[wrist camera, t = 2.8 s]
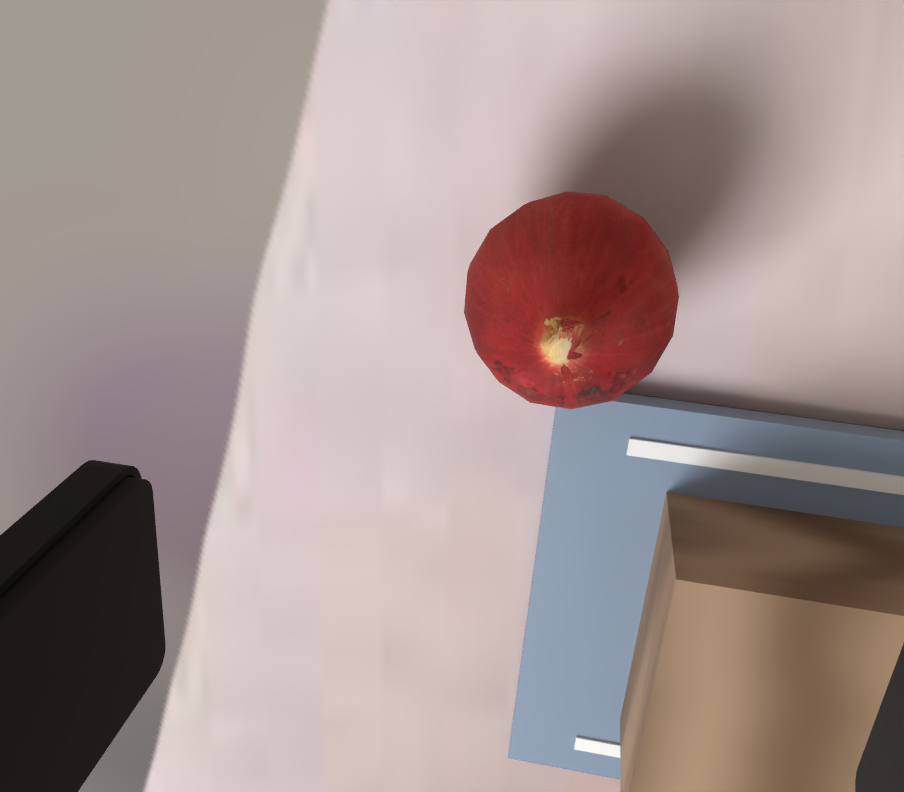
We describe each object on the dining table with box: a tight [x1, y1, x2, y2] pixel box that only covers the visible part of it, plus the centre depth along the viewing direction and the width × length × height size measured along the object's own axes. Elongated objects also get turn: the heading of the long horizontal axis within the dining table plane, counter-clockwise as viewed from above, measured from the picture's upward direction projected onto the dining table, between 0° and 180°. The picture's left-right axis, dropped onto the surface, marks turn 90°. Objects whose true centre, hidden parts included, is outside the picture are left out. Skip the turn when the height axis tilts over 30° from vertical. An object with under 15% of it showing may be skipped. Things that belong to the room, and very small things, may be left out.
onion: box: [464, 192, 679, 409], centre depth 24 cm, size 6×6×8 cm
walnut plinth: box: [620, 492, 904, 792], centre depth 28 cm, size 10×10×5 cm
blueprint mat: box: [508, 393, 904, 780], centre depth 30 cm, size 18×16×1 cm
